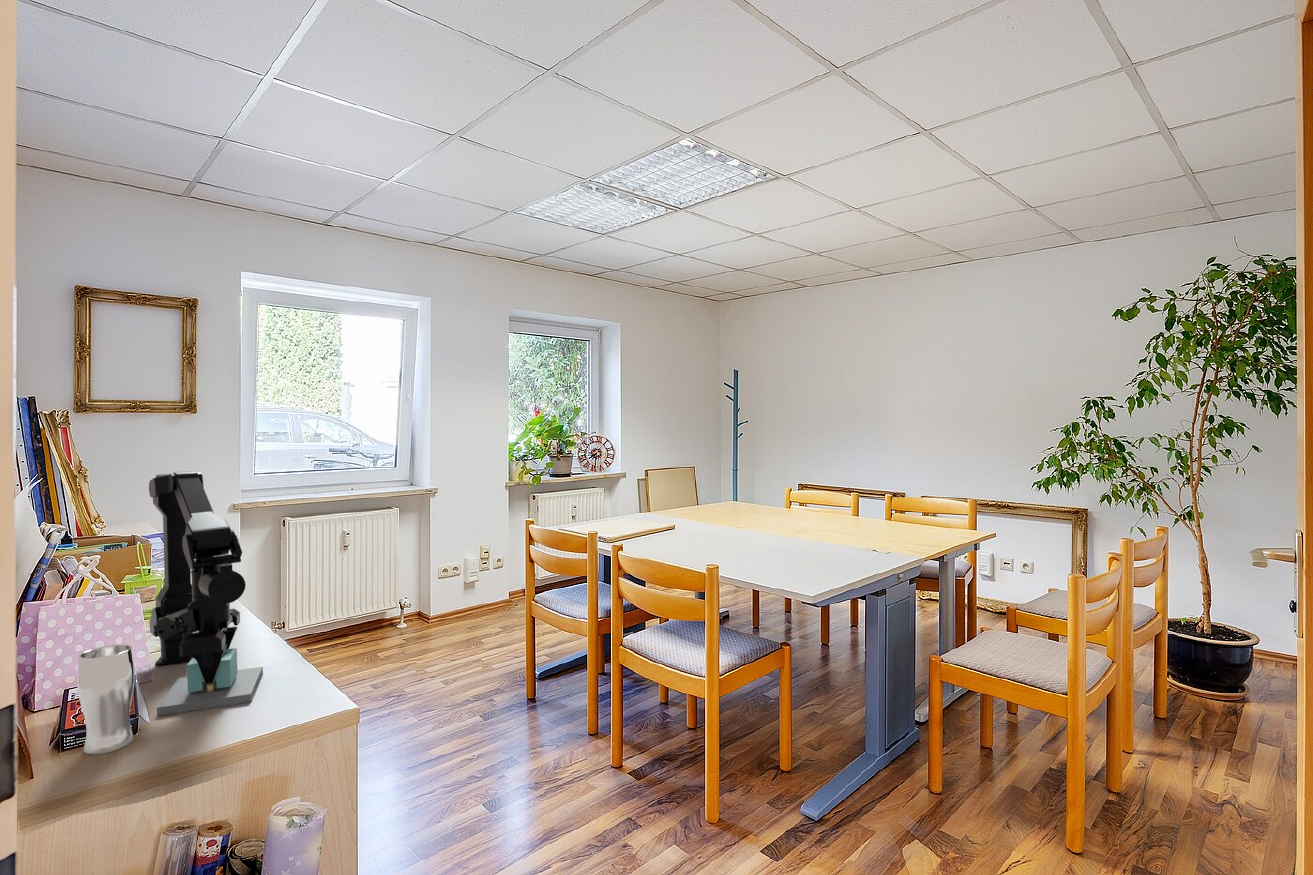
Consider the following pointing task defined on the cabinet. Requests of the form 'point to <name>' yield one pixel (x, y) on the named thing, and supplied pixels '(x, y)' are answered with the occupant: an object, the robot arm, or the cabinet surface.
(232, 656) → the collar
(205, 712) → the cabinet surface
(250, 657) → the cabinet surface
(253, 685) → the base
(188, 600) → the robot arm
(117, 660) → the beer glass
